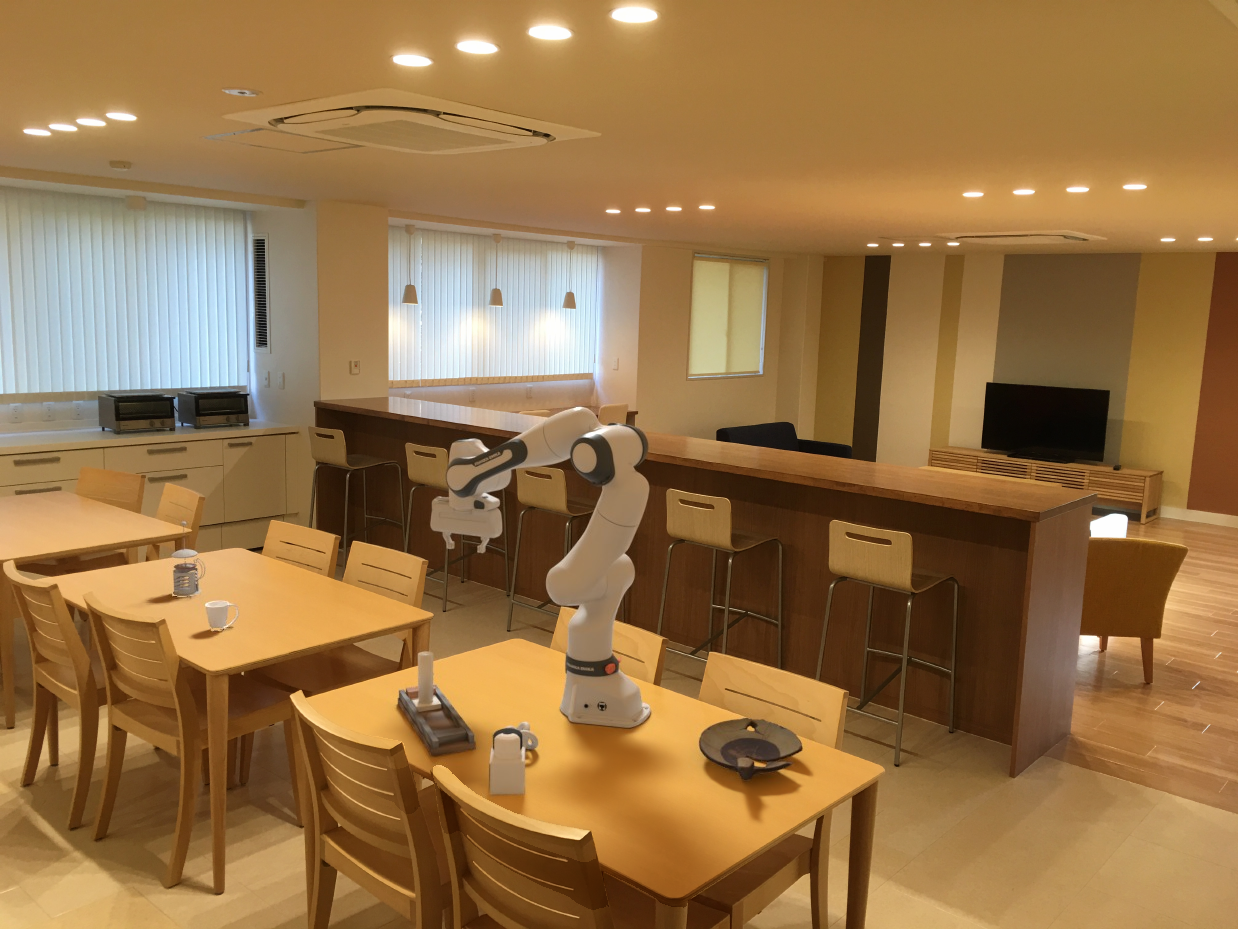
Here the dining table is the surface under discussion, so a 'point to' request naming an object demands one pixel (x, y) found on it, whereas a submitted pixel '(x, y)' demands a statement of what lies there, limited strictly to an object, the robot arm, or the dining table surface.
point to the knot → (526, 736)
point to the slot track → (437, 724)
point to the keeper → (425, 684)
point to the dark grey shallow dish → (749, 746)
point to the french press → (186, 573)
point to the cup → (219, 614)
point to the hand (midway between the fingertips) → (465, 550)
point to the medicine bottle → (507, 763)
